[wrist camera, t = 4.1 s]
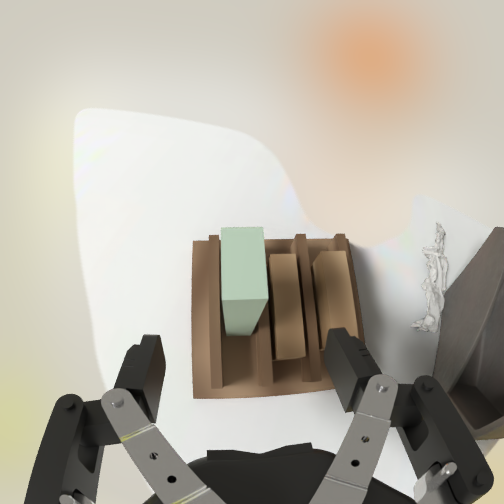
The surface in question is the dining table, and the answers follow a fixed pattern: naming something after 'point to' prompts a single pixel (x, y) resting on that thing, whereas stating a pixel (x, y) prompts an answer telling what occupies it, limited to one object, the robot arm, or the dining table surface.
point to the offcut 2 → (332, 295)
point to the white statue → (434, 284)
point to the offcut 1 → (285, 308)
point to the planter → (476, 341)
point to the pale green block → (243, 278)
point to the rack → (257, 328)
